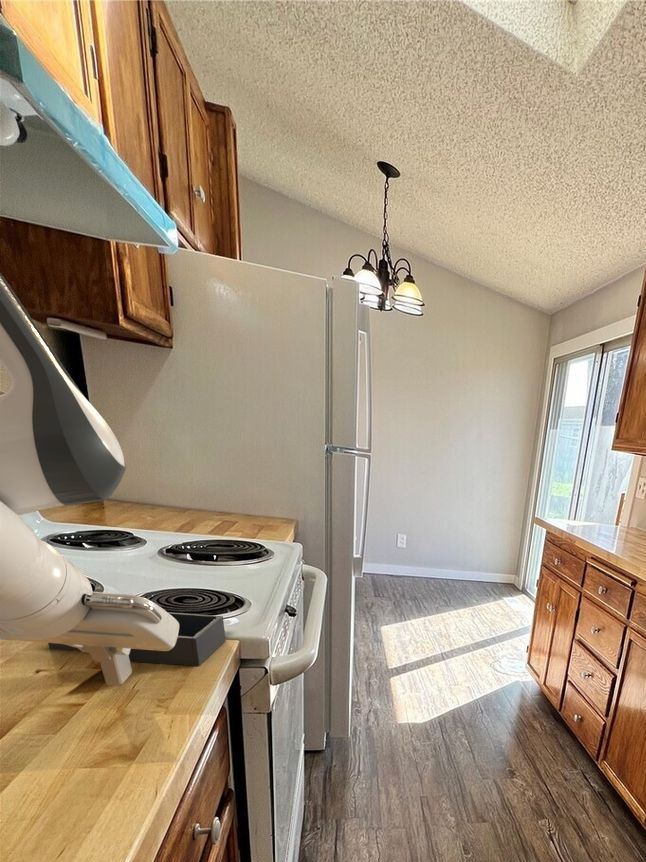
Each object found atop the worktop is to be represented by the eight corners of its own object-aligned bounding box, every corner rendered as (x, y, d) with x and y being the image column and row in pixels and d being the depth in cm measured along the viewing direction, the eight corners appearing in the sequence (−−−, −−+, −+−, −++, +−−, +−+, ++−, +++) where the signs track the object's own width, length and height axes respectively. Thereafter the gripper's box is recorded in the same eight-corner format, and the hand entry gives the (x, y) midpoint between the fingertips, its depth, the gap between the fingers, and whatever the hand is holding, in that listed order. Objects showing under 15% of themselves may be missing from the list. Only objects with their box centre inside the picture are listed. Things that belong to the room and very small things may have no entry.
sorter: (51, 657, 74) (43, 628, 73) (94, 632, 83) (88, 606, 81) (199, 666, 77) (195, 638, 75) (225, 641, 85) (223, 616, 84)
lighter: (117, 671, 72) (102, 613, 69) (132, 671, 72) (118, 612, 69) (96, 696, 66) (78, 632, 62) (112, 695, 66) (96, 632, 63)
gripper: (154, 575, 57) (204, 631, 70) (-68, 556, 55) (27, 618, 68) (138, 630, 55) (193, 678, 68) (-93, 613, 53) (9, 666, 65)
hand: (109, 648), depth 68 cm, fingers closed on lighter, 2 cm apart
